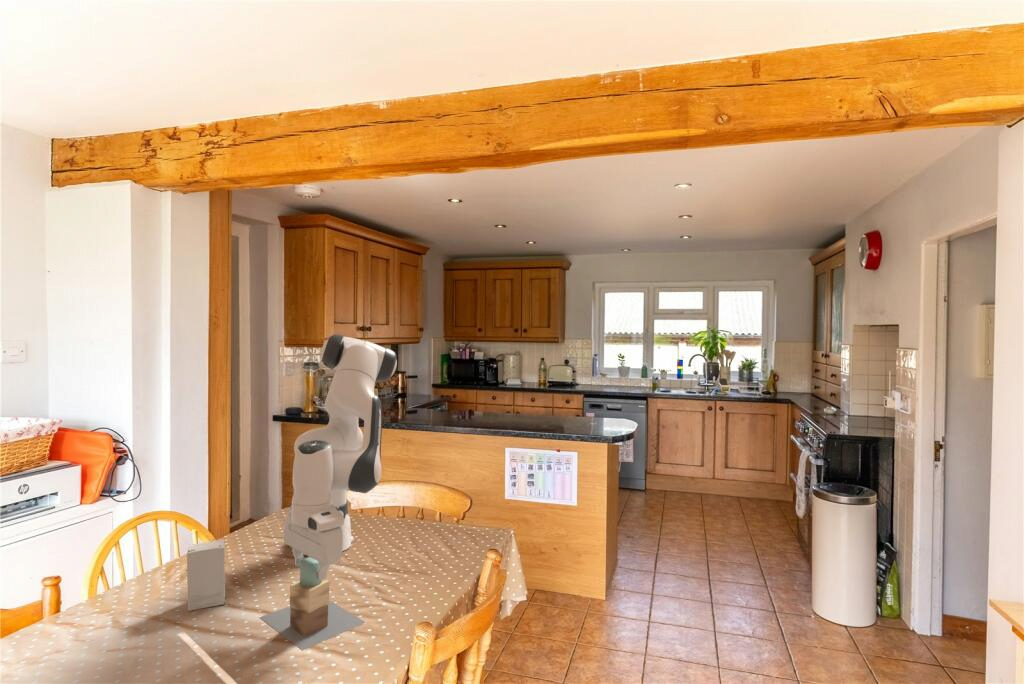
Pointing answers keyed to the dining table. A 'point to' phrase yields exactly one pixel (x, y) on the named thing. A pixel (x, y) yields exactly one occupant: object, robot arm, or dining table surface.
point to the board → (337, 624)
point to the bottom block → (309, 620)
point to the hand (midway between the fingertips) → (310, 572)
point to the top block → (309, 596)
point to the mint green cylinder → (309, 572)
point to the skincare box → (206, 574)
